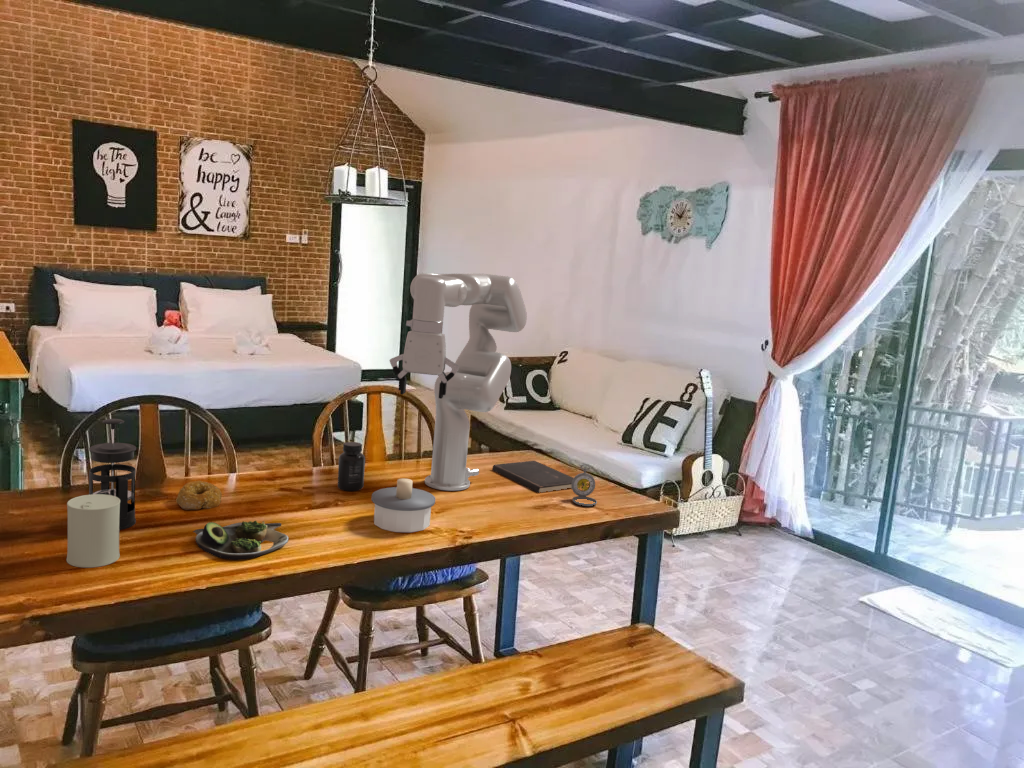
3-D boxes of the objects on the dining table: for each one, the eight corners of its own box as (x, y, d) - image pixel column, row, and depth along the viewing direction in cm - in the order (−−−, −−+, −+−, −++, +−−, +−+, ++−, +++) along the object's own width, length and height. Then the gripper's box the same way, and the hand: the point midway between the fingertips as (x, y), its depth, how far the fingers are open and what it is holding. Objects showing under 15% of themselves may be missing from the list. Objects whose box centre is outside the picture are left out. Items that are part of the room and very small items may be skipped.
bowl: (409, 510, 203) (411, 488, 202) (439, 526, 193) (441, 504, 192) (363, 517, 194) (365, 495, 193) (393, 535, 185) (394, 512, 184)
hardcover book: (533, 467, 255) (534, 460, 254) (581, 489, 237) (582, 481, 236) (491, 472, 245) (492, 464, 245) (538, 495, 227) (539, 487, 227)
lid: (410, 487, 203) (412, 468, 202) (447, 504, 192) (449, 485, 192) (359, 495, 193) (360, 476, 192) (395, 514, 182) (396, 494, 181)
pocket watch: (584, 509, 217) (588, 472, 215) (562, 499, 223) (566, 464, 222) (605, 504, 223) (609, 469, 221) (583, 495, 229) (587, 461, 227)
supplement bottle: (366, 485, 219) (369, 442, 217) (359, 493, 212) (362, 448, 210) (341, 482, 219) (344, 439, 217) (333, 489, 213) (336, 445, 210)
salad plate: (257, 521, 186) (258, 502, 186) (309, 543, 176) (310, 523, 176) (180, 541, 171) (181, 520, 170) (232, 567, 161) (233, 545, 160)
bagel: (165, 507, 188) (166, 488, 188) (192, 495, 199) (193, 476, 198) (204, 514, 187) (206, 495, 186) (230, 501, 198) (231, 482, 197)
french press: (80, 519, 176) (80, 416, 172) (125, 512, 183) (126, 412, 179) (99, 536, 168) (100, 428, 164) (145, 528, 175) (147, 424, 171)
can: (57, 566, 153) (57, 505, 151) (78, 547, 162) (79, 490, 160) (109, 569, 154) (109, 508, 152) (127, 550, 163) (127, 493, 161)
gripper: (389, 325, 197) (384, 394, 200) (459, 332, 196) (453, 402, 199) (396, 322, 204) (391, 389, 207) (464, 329, 203) (458, 396, 206)
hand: (421, 395), depth 203 cm, fingers open, 9 cm apart
